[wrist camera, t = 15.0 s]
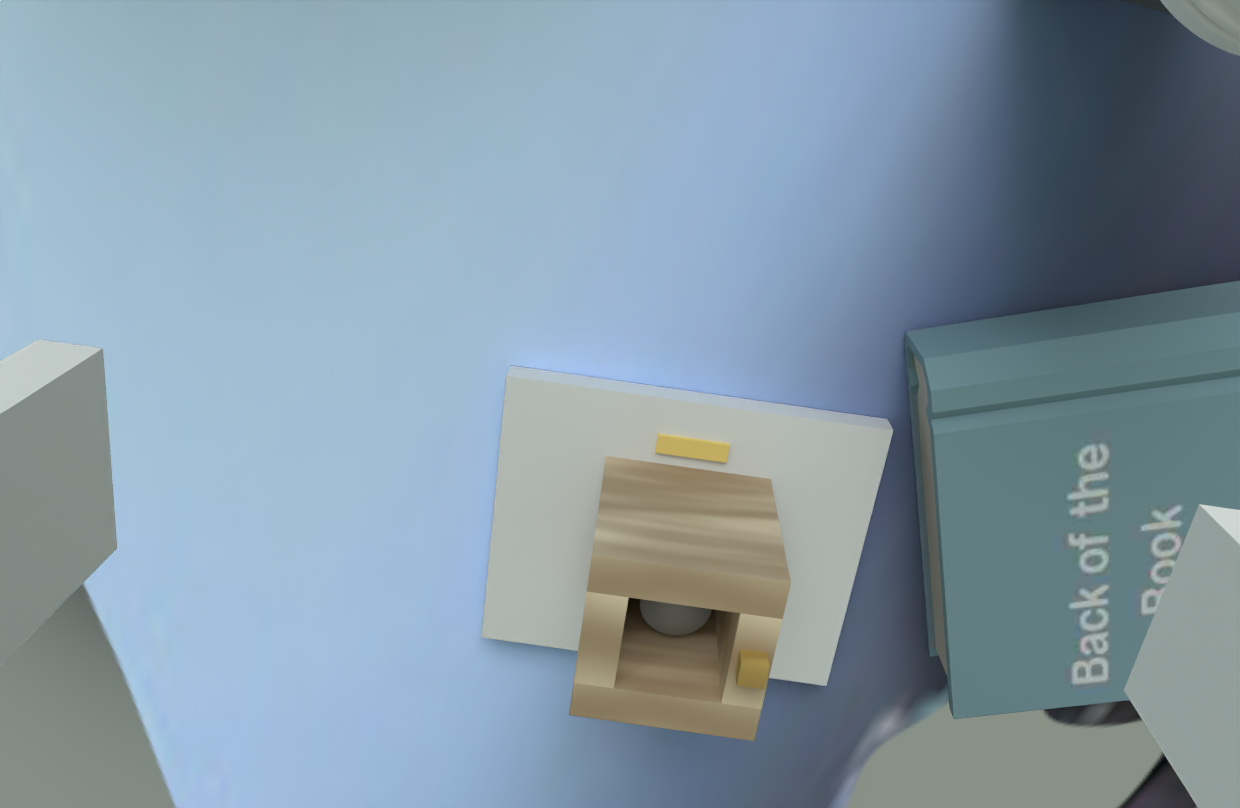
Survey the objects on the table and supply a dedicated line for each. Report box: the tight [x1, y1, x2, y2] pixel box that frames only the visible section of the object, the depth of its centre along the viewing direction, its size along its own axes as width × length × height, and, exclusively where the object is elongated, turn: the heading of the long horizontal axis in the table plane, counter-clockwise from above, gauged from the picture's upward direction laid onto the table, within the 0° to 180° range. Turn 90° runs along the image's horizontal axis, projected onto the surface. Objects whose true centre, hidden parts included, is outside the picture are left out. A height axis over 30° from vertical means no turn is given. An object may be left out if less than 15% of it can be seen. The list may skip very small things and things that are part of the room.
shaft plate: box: [481, 366, 893, 686], centre depth 42 cm, size 16×13×6 cm
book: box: [904, 281, 1240, 719], centre depth 41 cm, size 23×16×5 cm
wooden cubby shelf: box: [569, 456, 791, 741], centre depth 40 cm, size 7×7×9 cm
